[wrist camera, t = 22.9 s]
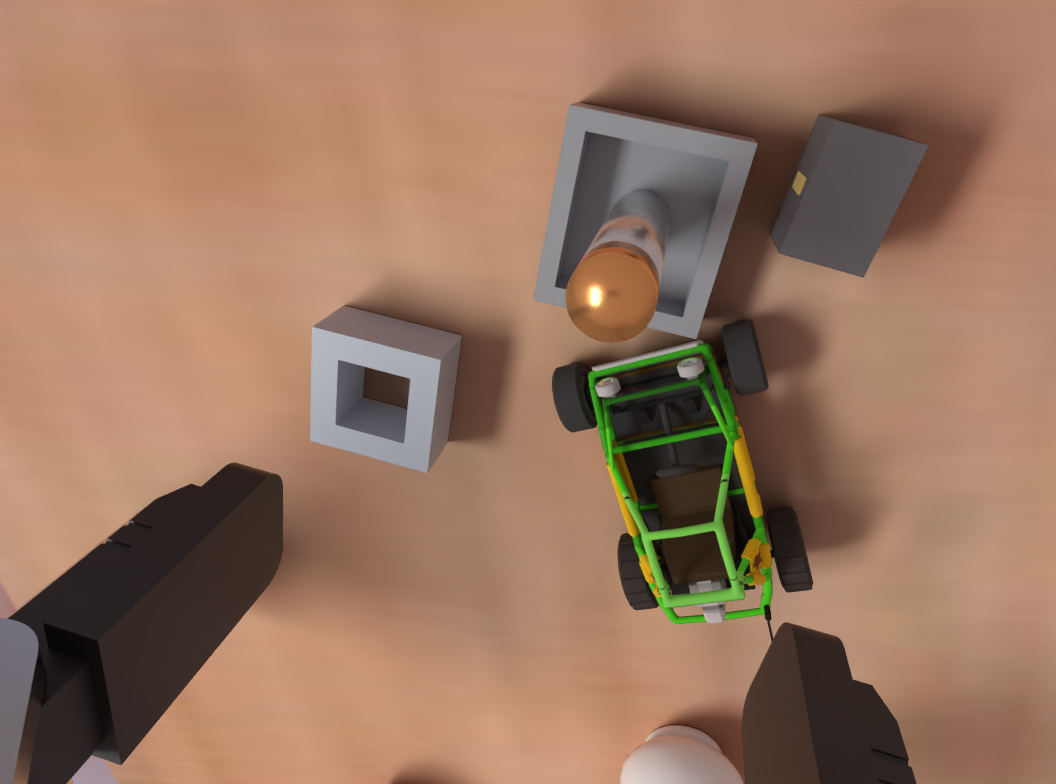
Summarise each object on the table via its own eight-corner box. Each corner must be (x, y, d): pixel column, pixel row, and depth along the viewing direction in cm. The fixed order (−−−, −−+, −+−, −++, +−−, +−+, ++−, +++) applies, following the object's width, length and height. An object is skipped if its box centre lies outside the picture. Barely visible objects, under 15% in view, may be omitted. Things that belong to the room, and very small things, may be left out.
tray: (696, 320, 38) (696, 339, 36) (544, 284, 39) (533, 300, 37) (752, 137, 34) (757, 143, 31) (578, 102, 35) (569, 104, 32)
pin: (662, 256, 36) (643, 351, 24) (604, 243, 37) (557, 330, 24) (678, 196, 35) (667, 266, 22) (617, 183, 35) (575, 245, 23)
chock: (901, 136, 32) (929, 145, 28) (845, 254, 35) (864, 277, 31) (817, 113, 33) (834, 120, 29) (768, 232, 35) (778, 253, 32)
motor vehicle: (748, 305, 38) (766, 383, 28) (815, 575, 44) (847, 709, 35) (557, 355, 41) (518, 438, 32) (645, 596, 48) (633, 722, 39)
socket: (447, 441, 46) (427, 473, 42) (339, 412, 47) (309, 440, 43) (462, 335, 42) (440, 359, 38) (343, 305, 43) (312, 326, 39)
